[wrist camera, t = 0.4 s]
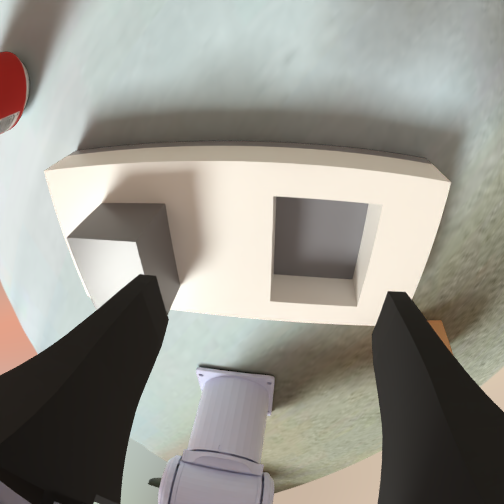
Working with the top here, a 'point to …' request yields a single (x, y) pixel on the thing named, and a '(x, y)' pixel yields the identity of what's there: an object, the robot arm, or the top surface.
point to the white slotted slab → (251, 225)
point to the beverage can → (12, 90)
